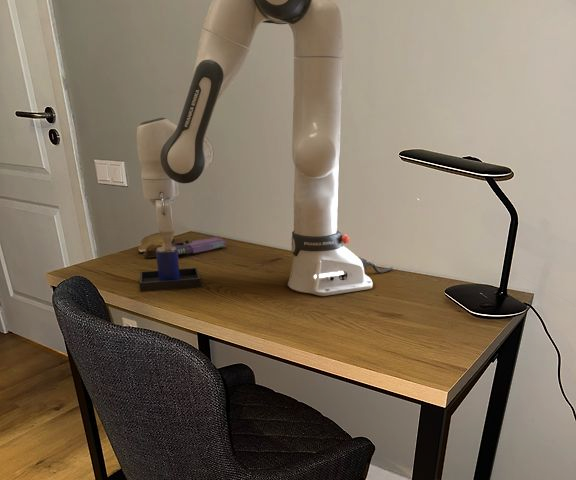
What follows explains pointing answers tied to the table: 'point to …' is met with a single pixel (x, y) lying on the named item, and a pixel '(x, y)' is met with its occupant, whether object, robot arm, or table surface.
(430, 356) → the table surface
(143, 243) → the stone tool
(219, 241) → the toy gun
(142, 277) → the tray
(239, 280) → the table surface
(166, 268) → the can
